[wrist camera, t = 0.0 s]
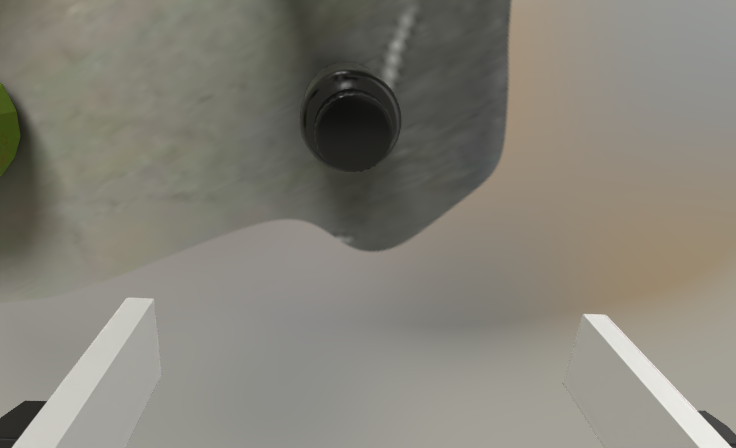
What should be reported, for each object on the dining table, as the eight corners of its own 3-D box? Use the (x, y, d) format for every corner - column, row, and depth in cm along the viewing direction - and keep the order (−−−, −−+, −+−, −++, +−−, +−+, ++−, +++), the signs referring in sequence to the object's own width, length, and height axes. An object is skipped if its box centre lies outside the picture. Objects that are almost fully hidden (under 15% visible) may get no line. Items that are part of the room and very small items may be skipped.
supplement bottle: (333, 160, 41) (333, 208, 30) (288, 89, 39) (270, 114, 28) (402, 118, 40) (429, 153, 29) (361, 43, 38) (373, 50, 27)
